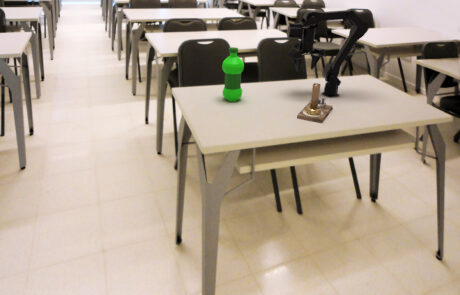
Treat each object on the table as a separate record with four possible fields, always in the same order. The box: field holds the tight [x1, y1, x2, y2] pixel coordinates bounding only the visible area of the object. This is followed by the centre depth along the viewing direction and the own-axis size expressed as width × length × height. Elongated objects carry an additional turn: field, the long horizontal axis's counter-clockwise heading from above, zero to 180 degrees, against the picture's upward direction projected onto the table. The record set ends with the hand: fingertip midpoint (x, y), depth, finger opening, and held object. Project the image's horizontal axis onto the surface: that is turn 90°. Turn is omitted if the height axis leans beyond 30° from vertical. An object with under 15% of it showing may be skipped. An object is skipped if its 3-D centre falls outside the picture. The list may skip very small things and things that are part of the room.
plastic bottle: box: [221, 46, 245, 102], centre depth 178 cm, size 10×10×25 cm
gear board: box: [296, 98, 333, 124], centre depth 168 cm, size 20×11×6 cm, turn 153°
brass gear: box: [305, 82, 322, 116], centre depth 162 cm, size 7×7×13 cm
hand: (304, 70), depth 186 cm, fingers open, 9 cm apart
